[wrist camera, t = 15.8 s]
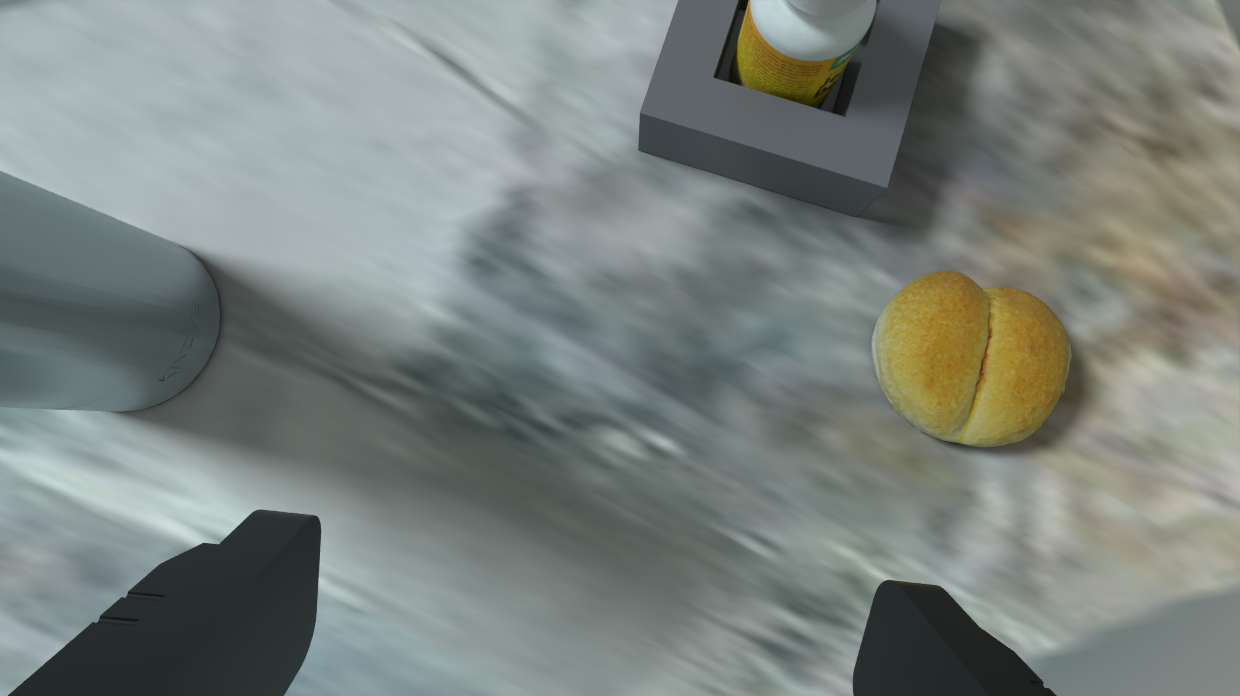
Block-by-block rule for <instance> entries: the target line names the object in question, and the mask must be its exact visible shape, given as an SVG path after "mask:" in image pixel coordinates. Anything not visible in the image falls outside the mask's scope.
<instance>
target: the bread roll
mask: <svg viewBox="0 0 1240 696" xmlns="http://www.w3.org/2000/svg"><path fill="white" fill-rule="evenodd" d="M1071 357H1072V352H1071V346H1070V343H1069V342H1068V339H1067V335H1066V333H1065V330H1064V327H1063V325H1062V323H1061V322H1060V320H1059V319H1058V317H1057V316H1056V315H1055V313H1054V312H1053V311H1052V310H1051V309H1050V308H1049V307H1048V306H1047V304H1045V303H1044V302H1042V301H1041V300H1040V299H1038V298H1036V297H1035V296H1033V295H1031V294H1030V293H1027V292H1025V291H1022V290H1017V289H1012V288H1005V287H993V288H983V289H981V288H980V287H979V286H978V285H977V284H976V283H975V282H974V281H972V280H971V279H970V278H969V277H967V276H965V275H963V274H961V273H957V272H951V271H938V272H933V273H930V274H927V275H925V276H923V277H921V278H919V279H917V280H915V281H913V282H912V283H910V284H909V285H907V286H906V287H905V288H903V289H902V290H901V291H900V292H899V293H898V294H897V295H896V296H895V297H894V298H893V299H892V300H891V301H890V302H889V303H888V304H887V306H886V307H885V308H884V310H883V312H882V313H881V315H880V316H879V318H878V320H877V322H876V325H875V328H874V331H873V335H872V359H873V364H874V368H875V372H876V376H877V379H878V382H879V385H880V387H881V389H882V391H883V393H884V394H885V396H886V398H887V399H888V401H889V403H890V404H891V405H892V407H893V408H894V409H895V410H896V411H897V412H898V414H899V415H900V416H902V417H903V418H904V419H905V420H906V421H908V422H909V423H911V424H912V425H914V426H915V427H916V428H917V429H918V430H920V431H923V432H924V433H926V434H928V435H930V436H932V437H934V438H937V439H940V440H943V441H949V442H956V443H959V444H963V445H968V446H974V447H995V446H1002V445H1007V444H1009V443H1016V442H1020V441H1021V440H1023V439H1025V438H1027V437H1028V436H1030V435H1031V434H1033V433H1034V432H1036V431H1037V430H1038V429H1039V428H1040V427H1041V426H1042V425H1043V423H1044V422H1045V420H1046V419H1047V418H1048V417H1049V416H1050V414H1051V413H1052V411H1053V409H1054V407H1055V405H1056V404H1057V403H1058V400H1059V397H1060V396H1061V395H1062V394H1063V393H1064V392H1065V381H1066V380H1067V375H1068V373H1069V365H1070V361H1071Z"/></svg>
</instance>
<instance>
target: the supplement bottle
mask: <svg viewBox="0 0 1240 696" xmlns="http://www.w3.org/2000/svg"><path fill="white" fill-rule="evenodd" d="M876 1H877V0H749V2H748V5H747V9H746V13H745V16H744V20H743V24H742V27H741V31H740V34H739V38H738V41H737V45H736V48H735V52H734V55H733V59H732V62H731V66H730V73H729V82H730V83H733V84H736V85H740V86H743V87H746V88H750V89H753V90H756V91H760V92H763V93H766V94H770V95H773V96H777V97H780V98H783V99H787V100H790V101H793V102H797V103H800V104H803V105H807V106H810V107H813V108H817V109H819V108H820V107H821V106H822V104H823V103H824V101H825V100H826V98H827V97H828V95H829V93H830V91H831V90H832V88H833V86H834V85H835V83H836V82H837V80H838V78H839V77H840V75H841V73H842V71H843V70H844V68H845V67H846V65H847V63H848V62H849V60H850V59H851V57H852V55H853V54H854V52H855V50H856V49H857V47H858V46H859V44H860V42H861V40H862V39H863V37H864V35H865V34H866V32H867V31H868V29H869V27H870V24H871V22H872V19H873V17H874V13H875V9H876Z"/></svg>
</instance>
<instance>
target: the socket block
mask: <svg viewBox="0 0 1240 696" xmlns="http://www.w3.org/2000/svg"><path fill="white" fill-rule="evenodd" d="M748 2H749V0H678V3H677V6H676V9H675V12H674V15H673V18H672V21H671V24H670V27H669V30H668V33H667V35H666V38H665V41H664V44H663V47H662V50H661V53H660V56H659V59H658V62H657V65H656V68H655V71H654V73H653V76H652V79H651V82H650V85H649V88H648V91H647V94H646V97H645V100H644V103H643V106H642V109H641V111H640V125H639V148H638V150H640V151H643V152H646V153H650V154H653V155H656V156H659V157H663V158H666V159H669V160H672V161H676V162H679V163H682V164H685V165H689V166H692V167H695V168H698V169H702V170H705V171H708V172H711V173H715V174H718V175H721V176H725V177H728V178H731V179H734V180H738V181H741V182H744V183H747V184H751V185H754V186H757V187H760V188H764V189H767V190H770V191H773V192H777V193H780V194H783V195H786V196H790V197H793V198H796V199H799V200H803V201H806V202H809V203H812V204H816V205H819V206H822V207H826V208H829V209H832V210H835V211H839V212H842V213H845V214H848V215H852V216H855V217H856V216H858V215H859V214H860V213H861V212H862V211H863V210H864V209H865V208H866V207H867V206H868V205H869V204H871V203H872V202H873V201H874V200H875V199H876V198H877V197H878V196H879V195H880V194H881V193H882V192H884V191H885V190H886V189H887V187H888V184H889V180H890V177H891V173H892V170H893V166H894V163H895V159H896V156H897V152H898V149H899V145H900V142H901V138H902V135H903V131H904V128H905V124H906V121H907V117H908V114H909V110H910V107H911V103H912V100H913V96H914V93H915V89H916V86H917V82H918V79H919V76H920V72H921V69H922V65H923V62H924V58H925V55H926V51H927V48H928V44H929V41H930V37H931V34H932V30H933V27H934V23H935V20H936V16H937V13H938V9H939V6H940V2H941V0H877V1H876V9H875V13H874V17H873V19H872V22H871V24H870V27H869V29H868V31H867V32H866V34H865V35H864V37H863V39H862V40H861V42H860V44H859V46H858V47H857V49H856V50H855V52H854V54H853V55H852V57H851V59H850V60H849V62H848V63H847V65H846V67H845V68H844V70H843V71H842V73H841V75H840V77H839V78H838V80H837V82H836V83H835V85H834V86H833V88H832V90H831V91H830V93H829V95H828V97H827V98H826V100H825V101H824V103H823V104H822V106H821V107H820V108H819V109H817V108H813V107H810V106H807V105H803V104H800V103H797V102H793V101H790V100H787V99H783V98H780V97H777V96H773V95H770V94H766V93H763V92H760V91H756V90H753V89H750V88H746V87H743V86H740V85H736V84H733V83H730V82H729V73H730V66H731V62H732V59H733V55H734V52H735V48H736V45H737V41H738V38H739V34H740V31H741V27H742V24H743V20H744V16H745V13H746V9H747V5H748ZM738 12H739V13H738ZM737 13H738V16H737ZM736 16H737V19H736ZM735 19H736V22H735ZM734 22H735V25H734ZM733 26H734V28H733ZM732 29H733V31H732ZM731 32H732V34H731ZM730 35H731V37H730ZM729 38H730V40H729ZM728 41H729V43H728ZM727 44H728V46H727ZM726 47H727V49H726ZM725 50H726V52H725ZM724 53H725V55H724ZM723 56H724V58H723ZM722 59H723V61H722ZM721 62H722V64H721ZM720 65H721V67H720ZM719 68H720V70H719ZM718 71H719V73H718ZM717 74H718V77H717ZM843 75H844V76H843ZM716 77H717V79H716Z"/></svg>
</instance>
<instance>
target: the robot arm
mask: <svg viewBox="0 0 1240 696" xmlns="http://www.w3.org/2000/svg"><path fill="white" fill-rule="evenodd" d="M219 325H220V305H219V298H218V293H217V291H216V288H215V285H214V283H213V280H212V278H211V276H210V275H209V273H208V272H207V270H206V269H205V267H204V266H203V264H202V263H201V262H200V261H199V260H198V259H197V258H196V257H195V256H194V255H193V254H191V253H190V252H189V251H188V250H186V249H184V248H182V247H181V246H179V245H177V244H176V243H174V242H171V241H169V240H166V239H164V238H161V237H159V236H157V235H154V234H152V233H149V232H147V231H144V230H142V229H139V228H137V227H135V226H132V225H130V224H127V223H125V222H122V221H120V220H118V219H116V218H114V217H111V216H109V215H106V214H104V213H101V212H99V211H97V210H94V209H92V208H89V207H87V206H84V205H82V204H80V203H77V202H75V201H72V200H70V199H67V198H65V197H62V196H60V195H58V194H55V193H53V192H50V191H48V190H45V189H43V188H41V187H38V186H36V185H33V184H31V183H28V182H26V181H24V180H21V179H19V178H16V177H14V176H11V175H9V174H7V173H4V172H2V171H0V407H9V408H37V409H56V410H86V411H115V412H124V411H135V410H142V409H145V408H149V407H152V406H155V405H158V404H161V403H162V402H164V401H166V400H168V399H170V398H172V397H173V396H175V395H177V394H178V393H179V392H181V391H182V390H183V389H184V388H185V387H187V386H188V385H189V384H190V383H191V382H192V381H193V380H194V379H195V378H196V377H197V375H198V374H199V373H200V372H201V370H202V369H203V368H204V367H205V365H206V363H207V361H208V359H209V357H210V355H211V354H212V352H213V350H214V347H215V343H216V340H217V336H218V333H219ZM320 544H321V524H320V520H319V518H318V517H317V516H315V515H306V514H297V513H288V512H279V511H269V510H256V511H254V512H253V513H252V514H250V515H249V516H248V517H247V518H246V519H245V520H244V521H243V522H242V523H241V524H240V525H239V526H238V527H237V528H236V529H235V530H234V531H232V532H231V533H230V534H229V535H228V536H227V537H226V538H225V539H224V540H223V541H222V542H221V543H220V544H210V543H202V544H200V545H198V546H196V547H194V548H192V549H190V550H188V551H186V552H184V553H182V554H180V555H178V556H175V557H173V558H171V559H169V560H167V561H165V562H163V563H161V564H160V565H158V566H157V567H156V568H155V569H154V570H153V571H151V572H150V573H149V574H148V575H147V576H146V577H145V578H143V579H142V580H141V581H140V582H139V583H138V584H136V585H135V586H134V587H133V588H132V589H131V590H129V591H128V595H127V597H126V598H123V597H121V598H120V599H119V600H118V601H117V602H116V603H114V604H113V605H112V606H111V607H110V608H109V609H107V610H106V611H105V612H104V613H103V614H102V615H101V616H100V619H99V621H98V622H97V623H94V622H92V623H91V624H90V625H89V626H88V627H87V628H86V629H84V630H83V631H82V632H81V633H80V634H79V635H77V636H76V637H75V638H74V639H73V640H72V641H70V642H69V643H68V644H67V645H66V646H65V647H64V648H62V649H61V650H60V651H59V652H58V653H57V654H55V655H54V656H53V657H52V658H51V659H50V660H49V661H47V662H46V663H45V664H44V665H43V666H42V667H40V668H39V669H38V670H37V671H36V672H35V673H33V674H32V675H31V676H30V677H29V678H28V679H27V680H25V681H24V682H23V683H22V684H21V685H20V686H18V687H17V688H16V689H15V690H14V691H13V692H11V693H10V694H9V695H8V696H284V694H285V693H286V691H287V689H288V688H289V686H290V684H291V683H292V681H293V679H294V678H295V676H296V674H297V673H298V671H299V669H300V668H301V666H302V664H303V662H304V660H305V657H306V655H307V652H308V649H309V647H310V643H311V640H312V636H313V632H314V628H315V622H316V613H317V596H318V579H319V561H320ZM853 694H854V696H1056V695H1055V694H1054V693H1053V692H1052V691H1051V690H1050V689H1049V688H1044V686H1043V681H1042V680H1041V679H1040V678H1039V677H1038V676H1037V675H1036V674H1035V673H1034V672H1033V671H1032V670H1031V669H1030V668H1029V667H1028V666H1027V664H1026V663H1025V662H1024V661H1023V660H1022V659H1021V658H1020V657H1019V656H1018V655H1017V654H1016V653H1015V652H1014V651H1013V650H1011V649H1010V648H1008V647H1007V646H1005V645H1004V644H1003V643H1001V642H1000V641H998V640H997V639H996V638H994V637H993V636H991V635H990V634H989V633H987V632H986V631H984V630H983V629H981V628H980V627H979V626H978V625H977V624H976V623H975V622H974V621H973V620H972V619H971V617H970V616H969V615H968V614H967V613H966V612H965V611H964V610H963V609H962V608H961V607H960V606H959V605H958V603H957V602H956V601H955V600H954V599H953V598H952V597H951V596H950V595H949V594H948V593H947V592H946V591H945V590H944V589H943V588H941V587H940V586H937V585H930V584H920V583H911V582H902V581H893V580H886V581H884V582H882V583H881V584H880V585H879V587H878V588H877V590H876V593H875V596H874V599H873V603H872V607H871V610H870V614H869V617H868V621H867V625H866V628H865V632H864V635H863V639H862V643H861V646H860V650H859V654H858V657H857V661H856V664H855V668H854V674H853Z"/></svg>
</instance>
